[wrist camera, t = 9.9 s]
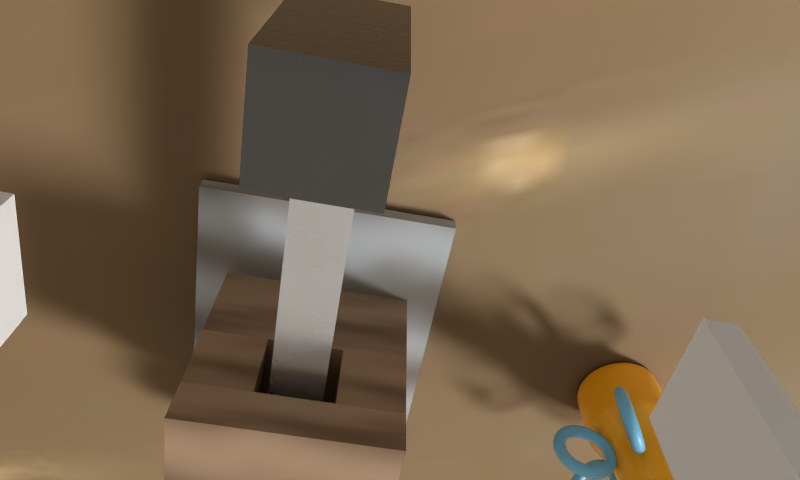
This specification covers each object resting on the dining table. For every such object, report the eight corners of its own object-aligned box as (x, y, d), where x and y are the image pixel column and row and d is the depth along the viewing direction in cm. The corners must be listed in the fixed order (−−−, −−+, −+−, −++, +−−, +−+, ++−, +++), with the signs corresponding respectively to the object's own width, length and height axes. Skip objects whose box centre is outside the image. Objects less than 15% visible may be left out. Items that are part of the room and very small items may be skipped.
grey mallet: (296, -16, 29) (248, 44, 20) (410, 6, 29) (410, 73, 21) (255, 416, 42) (214, 564, 33) (334, 427, 42) (314, 576, 34)
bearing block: (203, 179, 42) (119, 314, 30) (454, 220, 43) (472, 367, 31) (194, 446, 54) (131, 620, 42) (391, 473, 55) (385, 649, 43)
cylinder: (517, 428, 52) (552, 619, 39) (559, 323, 47) (616, 504, 34) (665, 451, 53) (747, 645, 40) (723, 351, 48) (837, 537, 35)
